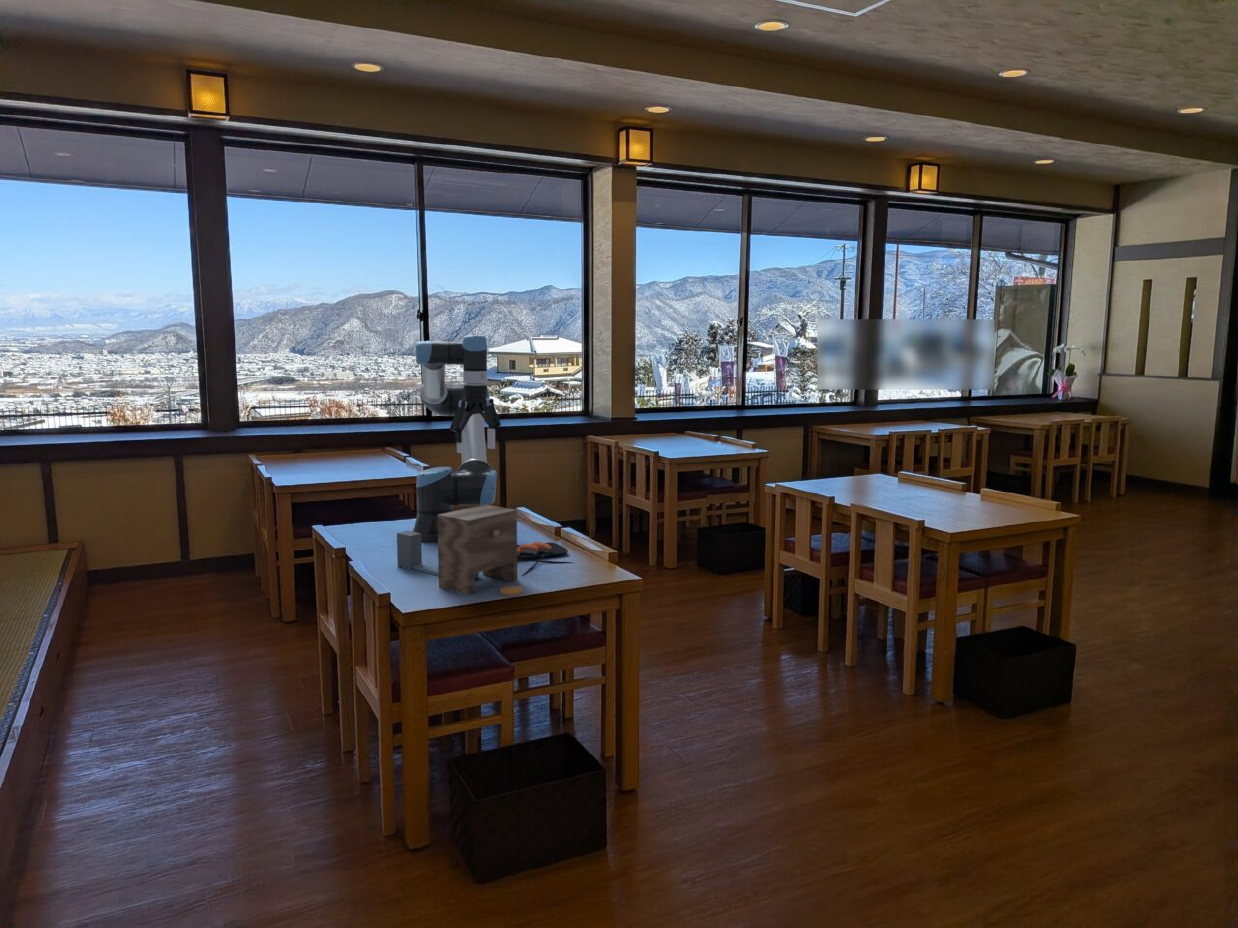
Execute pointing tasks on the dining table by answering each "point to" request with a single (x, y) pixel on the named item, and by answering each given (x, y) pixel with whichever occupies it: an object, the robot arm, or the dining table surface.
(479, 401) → the robot arm
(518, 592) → the puck
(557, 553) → the sushi plate
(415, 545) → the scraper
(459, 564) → the cabinet
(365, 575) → the dining table surface
